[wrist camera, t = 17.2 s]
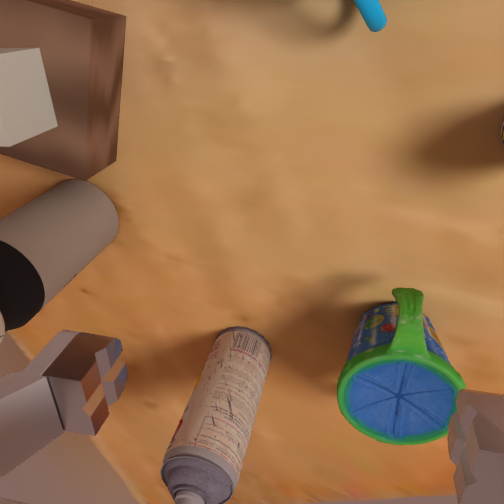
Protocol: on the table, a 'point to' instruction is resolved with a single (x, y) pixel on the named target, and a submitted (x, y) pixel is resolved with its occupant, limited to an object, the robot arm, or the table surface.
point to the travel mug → (50, 246)
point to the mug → (372, 14)
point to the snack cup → (398, 375)
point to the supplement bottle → (502, 134)
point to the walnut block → (71, 81)
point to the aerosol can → (218, 420)
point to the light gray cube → (23, 96)
